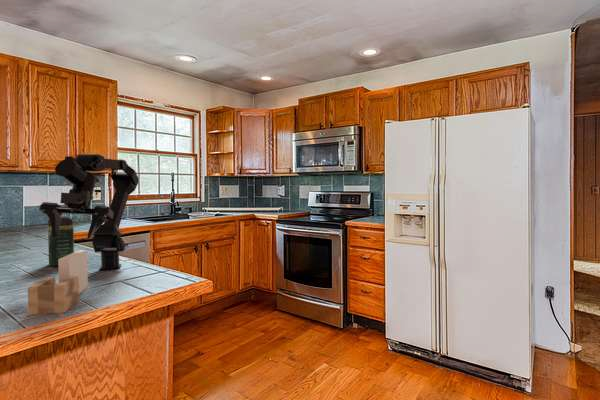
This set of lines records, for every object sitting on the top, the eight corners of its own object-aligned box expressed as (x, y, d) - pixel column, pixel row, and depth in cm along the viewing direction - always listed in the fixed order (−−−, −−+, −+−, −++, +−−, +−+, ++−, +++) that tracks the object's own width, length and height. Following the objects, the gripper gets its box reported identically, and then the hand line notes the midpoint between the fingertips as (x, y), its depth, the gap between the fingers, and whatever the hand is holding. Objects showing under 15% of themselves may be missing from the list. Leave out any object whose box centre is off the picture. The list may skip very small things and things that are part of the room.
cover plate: (78, 287, 101) (77, 250, 101) (87, 287, 102) (86, 250, 101) (59, 301, 89) (58, 259, 89) (69, 300, 90) (68, 258, 89)
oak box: (47, 302, 88) (46, 277, 88) (79, 300, 90) (78, 275, 89) (28, 314, 80) (27, 287, 80) (64, 312, 81) (63, 285, 81)
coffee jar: (76, 265, 130) (74, 215, 129) (50, 268, 125) (48, 217, 124) (72, 260, 137) (71, 214, 137) (47, 263, 132) (46, 215, 132)
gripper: (37, 177, 99) (22, 229, 94) (108, 182, 103) (97, 232, 98) (53, 191, 109) (40, 239, 104) (117, 195, 113) (108, 242, 108)
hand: (71, 238), depth 103 cm, fingers open, 9 cm apart
